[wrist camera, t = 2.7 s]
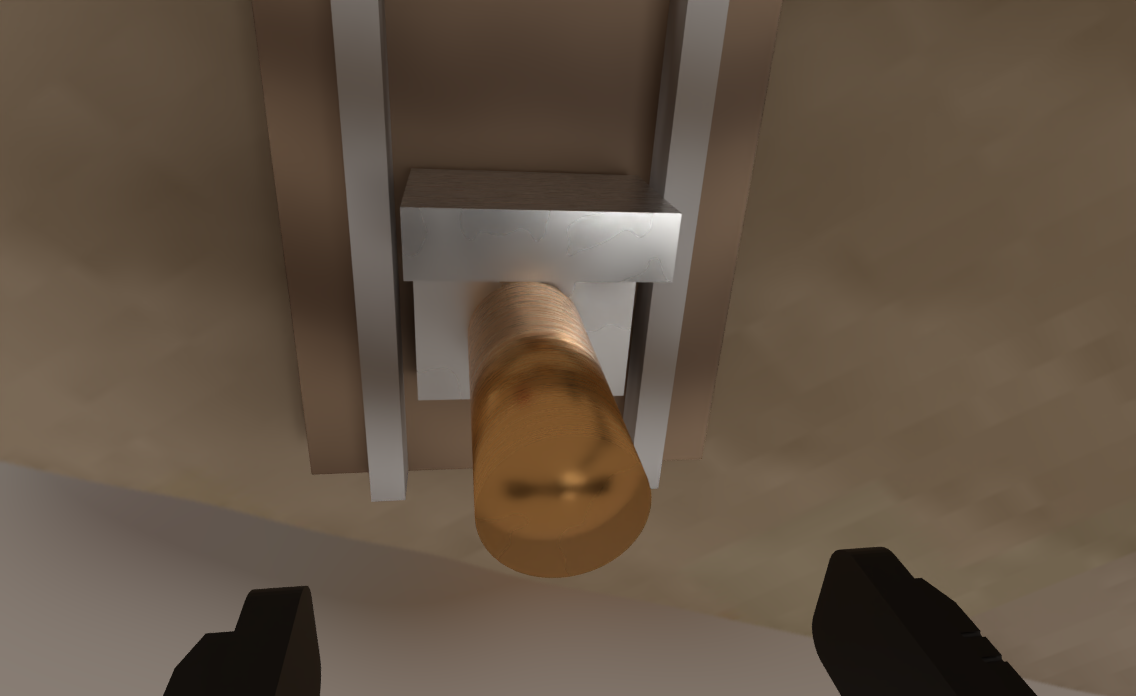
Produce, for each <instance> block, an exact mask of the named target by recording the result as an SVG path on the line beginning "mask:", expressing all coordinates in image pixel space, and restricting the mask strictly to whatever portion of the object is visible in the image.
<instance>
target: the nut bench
mask: <svg viewBox="0 0 1136 696" xmlns="http://www.w3.org/2000/svg"><path fill="white" fill-rule="evenodd" d="M782 2H783V0H252V8H253V16H254V23H255V31H256V39H257V47H258V55H259V63H260V71H261V79H262V87H263V94H264V102H265V110H266V118H267V126H268V134H269V142H270V150H271V157H272V165H273V173H274V181H275V189H276V197H277V205H278V213H279V220H280V228H281V236H282V244H283V252H284V260H285V268H286V276H287V284H288V291H289V299H290V307H291V315H292V323H293V331H294V339H295V347H296V354H297V362H298V370H299V378H300V386H301V394H302V402H303V410H304V418H305V425H306V433H307V441H308V449H309V457H310V465H311V473H312V474H336V473H362V472H369V476H370V489H371V501H372V502H373V501H394V500H405V499H406V489H407V479H408V471H412V470H438V469H463V468H473V457H472V433H471V408H470V399H455V400H418V387H417V363H416V339H415V315H414V290H413V281H403V260H402V239H401V219H400V205H401V202H402V198H403V195H404V191H405V188H406V185H407V181H408V178H409V174H410V171H411V168H415V169H446V170H478V171H510V172H542V173H574V174H606V175H638V176H639V177H640V178H641V179H642V180H643V181H645V182H646V183H647V184H648V185H649V186H650V187H652V188H653V189H654V190H655V191H656V192H657V193H659V194H660V195H661V196H662V197H663V198H664V199H665V200H667V201H668V202H669V203H670V204H671V205H672V206H674V207H675V208H676V209H677V210H678V211H679V212H681V213H682V216H681V223H680V230H679V238H678V245H677V252H676V260H675V267H674V275H673V282H636V287H635V296H634V305H633V314H632V323H631V332H630V341H629V350H628V359H627V368H626V377H625V386H624V395H623V396H613V397H614V399H615V402H616V404H617V406H618V409H619V411H620V413H621V416H622V418H623V421H624V423H625V425H626V428H627V430H628V432H629V435H630V437H631V440H632V442H633V444H634V447H635V449H636V452H637V454H638V456H639V459H640V461H641V463H642V466H643V468H644V471H645V473H646V475H647V478H648V481H649V484H650V488H651V489H654V488H658V485H659V479H660V472H661V465H662V461H666V460H692V459H702V455H703V450H704V444H705V438H706V433H707V427H708V421H709V416H710V410H711V404H712V399H713V393H714V387H715V382H716V376H717V370H718V365H719V359H720V353H721V348H722V342H723V336H724V331H725V325H726V319H727V314H728V308H729V302H730V297H731V291H732V285H733V280H734V274H735V268H736V263H737V257H738V251H739V246H740V240H741V234H742V229H743V223H744V217H745V212H746V206H747V200H748V195H749V189H750V183H751V178H752V172H753V166H754V161H755V155H756V149H757V144H758V138H759V132H760V127H761V121H762V115H763V110H764V104H765V98H766V93H767V87H768V81H769V76H770V70H771V64H772V59H773V53H774V47H775V42H776V36H777V30H778V25H779V19H780V13H781V8H782Z"/></svg>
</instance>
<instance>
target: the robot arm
mask: <svg viewBox="0 0 1136 696" xmlns="http://www.w3.org/2000/svg"><path fill="white" fill-rule="evenodd" d="M812 633H813V640H814V644H815V648H816V651H817V654H818V656H819V658H820V660H821V662H822V663H823V666H824V667H825V669H826V670H827V672H828V674H829V676H830V677H831V679H832V681H833V683H834V684H835V686H836V688H837V690H838V691H839V693H840V695H841V696H1037V695H1036V694H1035V693H1034V692H1033V690H1032V689H1031V688H1030V687H1029V686H1028V685H1027V684H1026V682H1025V681H1024V680H1023V679H1022V678H1021V677H1020V676H1019V674H1018V673H1017V672H1016V671H1015V670H1014V669H1013V668H1012V666H1011V665H1010V664H1009V663H1008V662H1004V661H1003V660H1002V657H1001V656H1002V655H1001V654H1000V653H999V652H998V650H997V649H996V648H995V647H994V646H993V645H992V644H991V642H990V641H989V640H988V639H987V638H986V637H982V636H981V634H980V630H979V629H978V628H977V626H976V625H975V624H974V623H973V622H972V621H971V620H970V618H969V617H968V616H967V615H966V614H965V613H964V612H963V610H962V609H961V608H960V607H959V606H958V605H957V604H956V602H954V601H953V600H952V599H950V598H949V597H947V596H946V595H945V594H943V593H942V592H940V591H939V590H938V589H936V588H935V587H933V586H932V585H931V584H929V583H928V582H926V581H925V580H924V579H922V578H915V579H914V577H913V576H912V575H911V574H910V573H909V571H908V570H907V569H906V568H905V567H904V565H903V564H902V563H901V562H900V561H899V559H898V558H897V557H896V556H895V555H894V554H893V553H892V552H891V551H890V550H889V549H887V548H885V547H870V548H856V549H842V550H837V551H835V552H834V553H833V554H832V556H831V558H830V560H829V564H828V567H827V571H826V574H825V578H824V581H823V585H822V588H821V592H820V595H819V599H818V602H817V605H816V609H815V612H814V616H813V621H812ZM320 686H321V663H320V654H319V646H318V639H317V633H316V625H315V618H314V611H313V604H312V597H311V592H310V589H309V587H308V586H297V587H282V588H268V589H254V590H251V591H250V592H249V594H248V595H247V597H246V600H245V603H244V605H243V608H242V611H241V614H240V617H239V620H238V622H237V625H236V628H235V631H232V632H219V633H207V634H205V635H204V636H203V637H202V638H201V640H200V641H199V642H198V643H197V644H196V645H195V646H194V647H193V648H192V650H191V651H190V652H189V653H188V654H187V655H186V656H185V658H184V659H183V660H182V661H181V662H180V663H179V664H178V665H177V666H176V668H175V669H174V671H173V674H172V676H171V678H170V681H169V683H168V685H167V688H166V690H165V692H164V695H163V696H320Z"/></svg>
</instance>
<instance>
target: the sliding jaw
mask: <svg viewBox="0 0 1136 696" xmlns="http://www.w3.org/2000/svg"><path fill="white" fill-rule="evenodd" d="M681 216H682V213H681V212H679V211H678V210H677V209H676V208H675V207H674V206H672V205H671V204H670V203H669V202H668V201H667V200H665V199H664V198H663V197H662V196H661V195H660V194H659V193H657V192H656V191H655V190H654V189H653V188H652V187H650V186H649V185H648V184H647V183H646V182H645V181H643V180H642V179H641V178H640V177H639V176H638V175H606V174H574V173H542V172H510V171H478V170H446V169H415V168H411V171H410V174H409V178H408V181H407V185H406V188H405V191H404V195H403V198H402V202H401V205H400V219H401V239H402V260H403V281H413V290H414V315H415V339H416V363H417V387H418V400H455V399H470V408H471V433H472V457H473V481H474V506H475V523H476V528H477V532H478V535H479V537H480V539H481V541H482V543H483V545H484V546H485V548H486V549H487V550H488V551H489V552H490V554H491V555H492V556H493V557H494V558H496V559H497V560H498V561H499V562H500V563H502V564H504V565H505V566H507V567H509V568H511V569H513V570H515V571H517V572H520V573H523V574H527V575H531V576H536V577H545V578H561V577H570V576H575V575H579V574H583V573H586V572H589V571H592V570H595V569H597V568H599V567H602V566H604V565H605V564H607V563H609V562H611V561H612V560H614V559H615V558H617V557H618V556H620V555H621V554H622V553H623V552H624V551H626V550H627V549H628V548H629V547H630V546H631V545H632V543H633V542H634V541H635V540H636V539H637V537H638V536H639V535H640V533H641V532H642V530H643V528H644V526H645V524H646V522H647V519H648V516H649V512H650V508H651V488H650V484H649V481H648V478H647V475H646V473H645V471H644V468H643V466H642V463H641V461H640V459H639V456H638V454H637V452H636V449H635V447H634V444H633V442H632V440H631V437H630V435H629V432H628V430H627V428H626V425H625V423H624V421H623V418H622V416H621V413H620V411H619V409H618V406H617V404H616V402H615V399H614V397H613V396H623V395H624V386H625V377H626V368H627V359H628V350H629V341H630V332H631V323H632V314H633V305H634V296H635V287H636V282H673V275H674V267H675V260H676V252H677V245H678V238H679V230H680V223H681Z"/></svg>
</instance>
